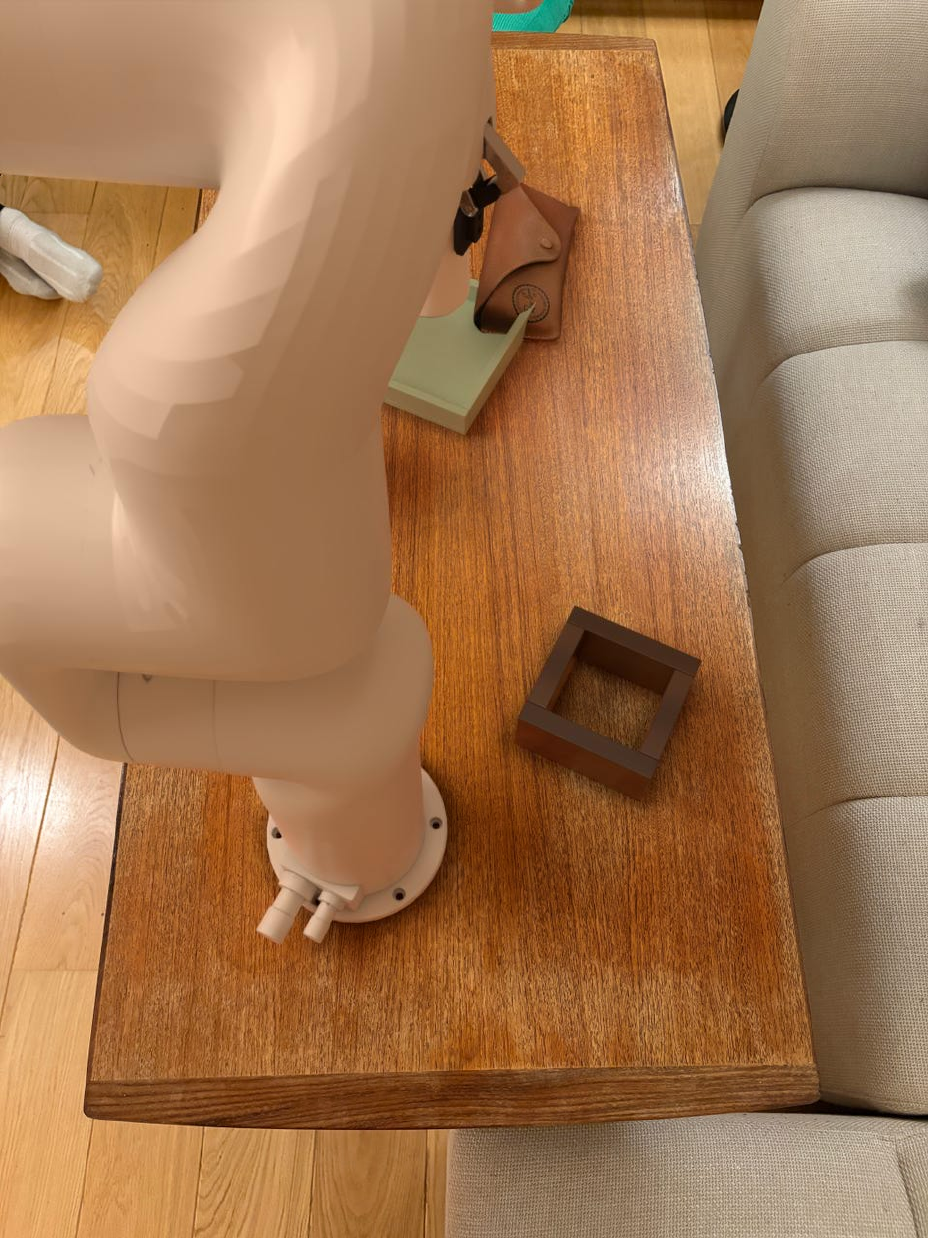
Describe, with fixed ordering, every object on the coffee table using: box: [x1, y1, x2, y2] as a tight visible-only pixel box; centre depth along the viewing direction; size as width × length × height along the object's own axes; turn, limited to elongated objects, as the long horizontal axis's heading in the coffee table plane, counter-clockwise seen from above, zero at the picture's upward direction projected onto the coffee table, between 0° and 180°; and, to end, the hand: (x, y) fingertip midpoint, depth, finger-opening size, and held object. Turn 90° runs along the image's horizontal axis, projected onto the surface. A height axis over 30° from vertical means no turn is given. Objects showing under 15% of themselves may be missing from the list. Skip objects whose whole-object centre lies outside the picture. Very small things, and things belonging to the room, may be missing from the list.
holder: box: [513, 605, 703, 802], centre depth 74 cm, size 10×10×5 cm
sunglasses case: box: [473, 182, 581, 342], centre depth 95 cm, size 18×7×7 cm
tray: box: [383, 277, 536, 436], centre depth 91 cm, size 15×15×3 cm
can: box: [419, 205, 471, 318], centre depth 81 cm, size 6×6×12 cm
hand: (425, 227), depth 80 cm, fingers closed on can, 6 cm apart
